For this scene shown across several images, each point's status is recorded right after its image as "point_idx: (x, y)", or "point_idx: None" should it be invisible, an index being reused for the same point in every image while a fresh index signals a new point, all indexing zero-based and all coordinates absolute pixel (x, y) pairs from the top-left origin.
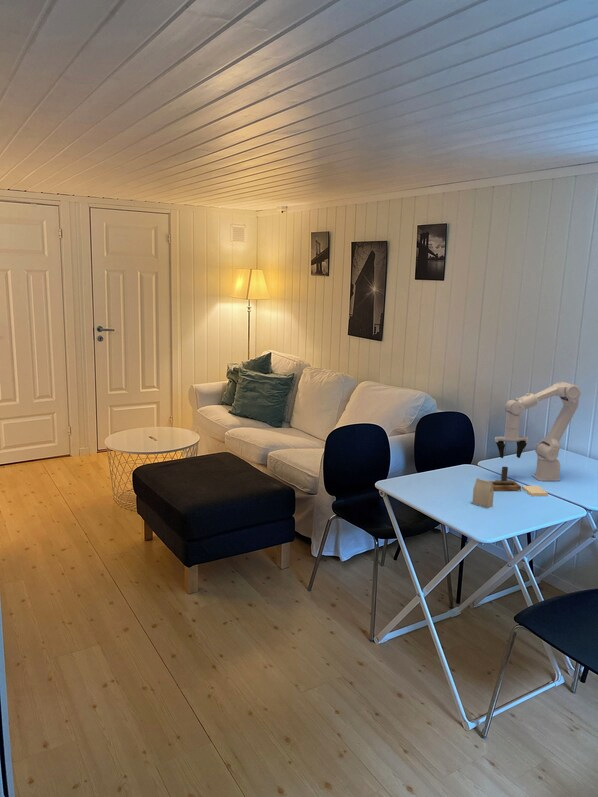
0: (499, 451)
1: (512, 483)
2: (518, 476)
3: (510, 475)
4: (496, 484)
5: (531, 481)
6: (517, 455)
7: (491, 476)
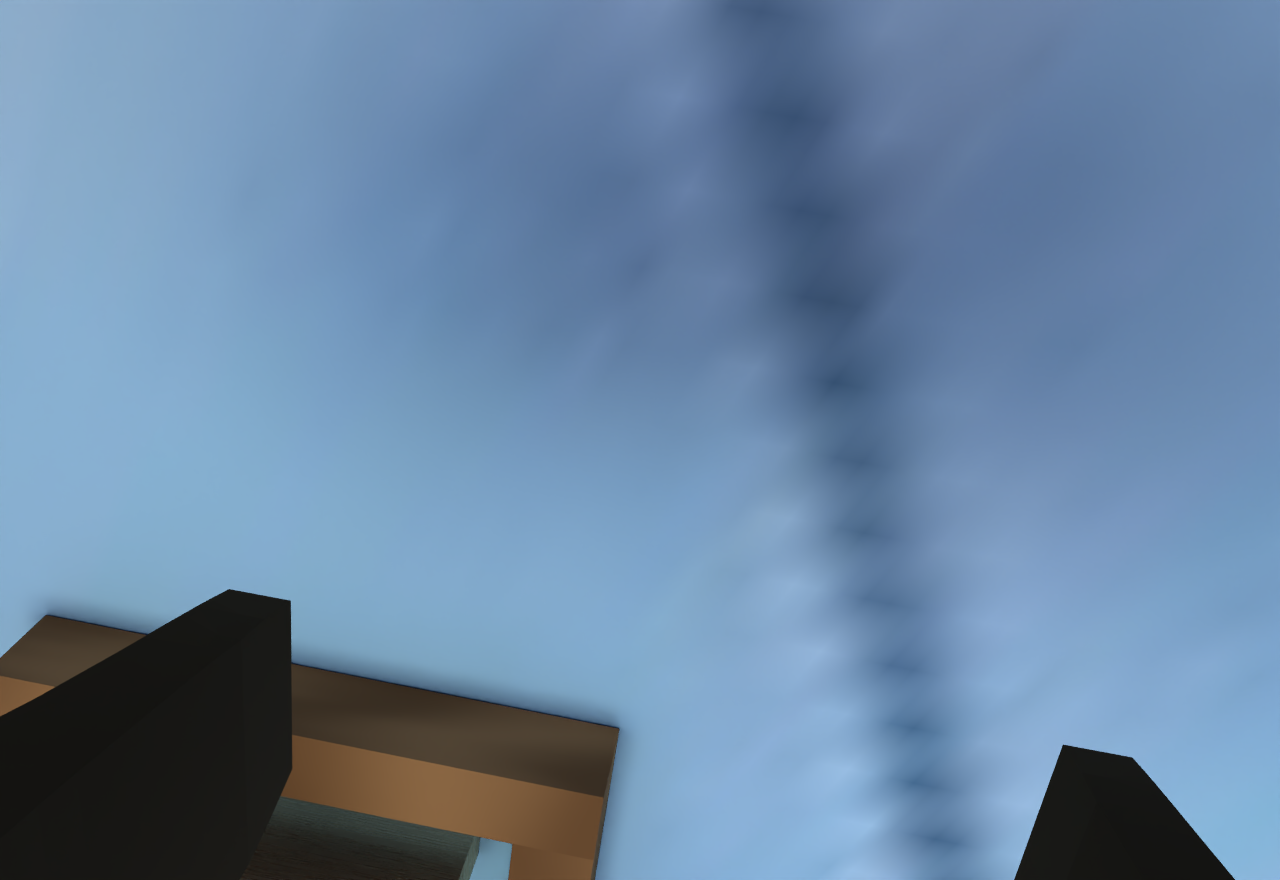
0: (24, 746)
1: (515, 849)
2: (1188, 196)
3: (1011, 64)
4: None
5: (1219, 610)
6: (1056, 875)
7: (399, 56)
